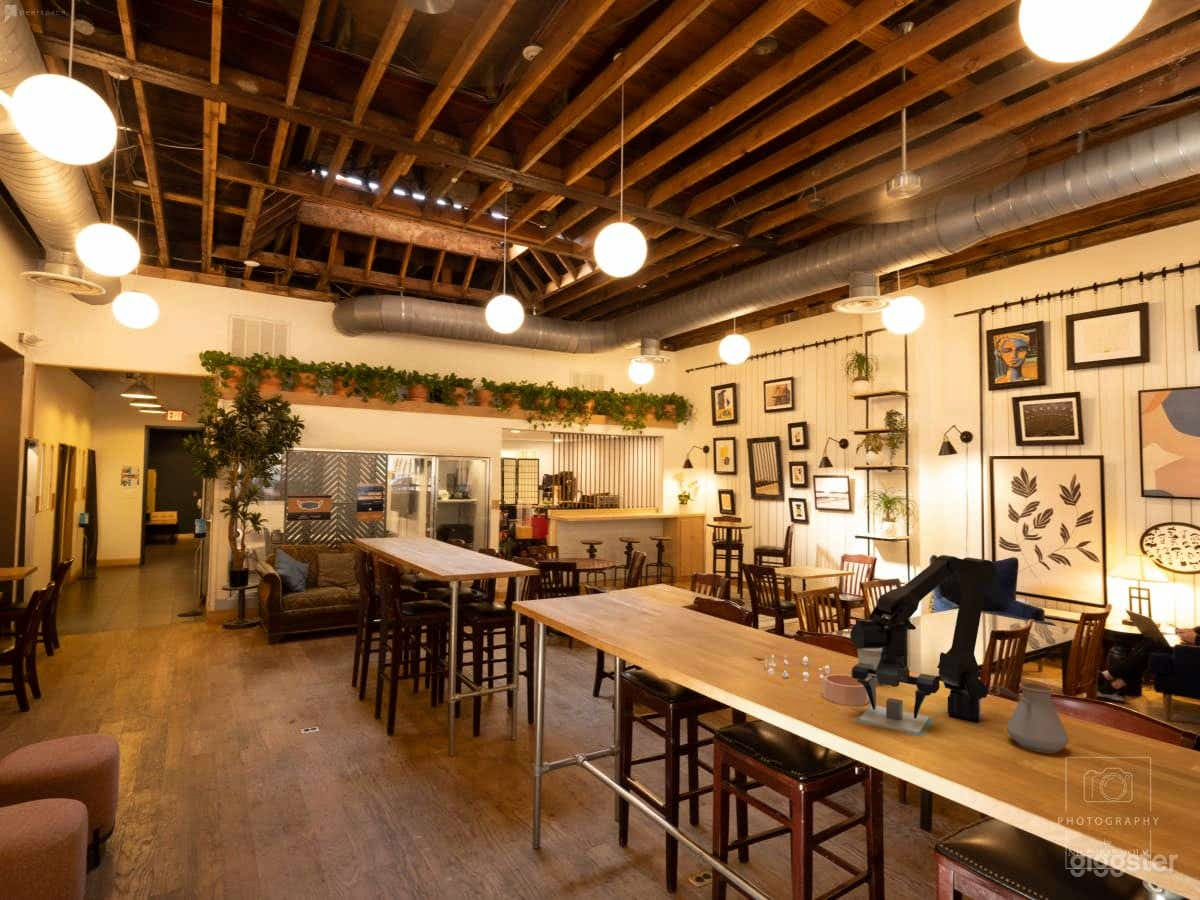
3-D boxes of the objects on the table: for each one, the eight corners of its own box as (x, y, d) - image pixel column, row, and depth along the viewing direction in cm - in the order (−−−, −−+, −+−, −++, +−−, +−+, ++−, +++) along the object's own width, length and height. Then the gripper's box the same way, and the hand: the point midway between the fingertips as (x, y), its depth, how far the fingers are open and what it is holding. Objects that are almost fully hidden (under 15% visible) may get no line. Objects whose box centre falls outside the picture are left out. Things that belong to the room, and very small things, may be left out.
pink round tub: (873, 699, 172) (873, 679, 172) (861, 710, 163) (861, 689, 163) (831, 691, 179) (831, 672, 179) (818, 700, 170) (818, 680, 170)
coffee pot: (1025, 733, 150) (1024, 667, 151) (1080, 752, 140) (1079, 681, 141) (967, 747, 141) (966, 677, 142) (1021, 768, 130) (1021, 693, 131)
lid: (929, 719, 157) (929, 699, 157) (918, 734, 146) (918, 713, 146) (873, 707, 164) (873, 688, 165) (858, 721, 154) (858, 701, 154)
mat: (934, 721, 157) (934, 719, 157) (922, 739, 145) (922, 737, 145) (870, 707, 166) (870, 705, 166) (853, 723, 154) (853, 721, 154)
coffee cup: (854, 684, 186) (854, 641, 187) (857, 676, 194) (857, 636, 194) (886, 689, 182) (886, 645, 183) (888, 681, 190) (888, 639, 190)
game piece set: (788, 661, 211) (788, 649, 211) (843, 676, 195) (843, 663, 195) (749, 669, 199) (749, 657, 199) (804, 686, 183) (805, 672, 184)
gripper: (844, 647, 156) (844, 713, 155) (930, 661, 144) (930, 732, 143) (858, 639, 164) (857, 701, 163) (939, 652, 153) (940, 719, 152)
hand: (894, 713), depth 155 cm, fingers open, 9 cm apart
